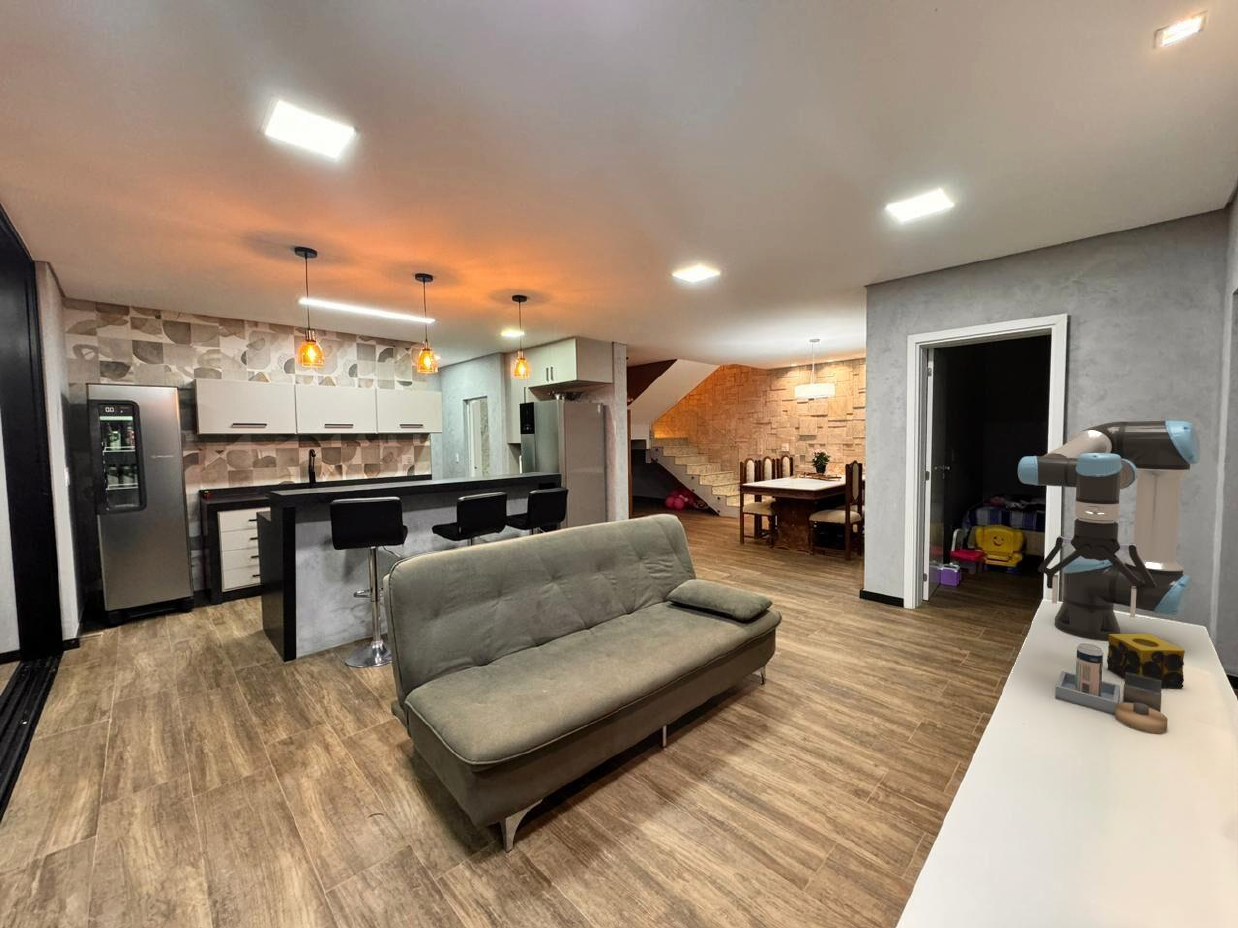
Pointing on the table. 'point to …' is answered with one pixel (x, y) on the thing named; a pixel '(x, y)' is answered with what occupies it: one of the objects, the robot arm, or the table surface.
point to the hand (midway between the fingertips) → (1092, 608)
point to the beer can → (1089, 669)
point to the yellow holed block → (1146, 658)
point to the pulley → (1141, 717)
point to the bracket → (1142, 690)
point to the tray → (1104, 703)
